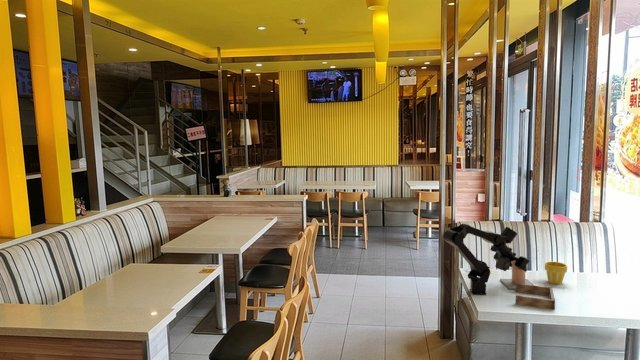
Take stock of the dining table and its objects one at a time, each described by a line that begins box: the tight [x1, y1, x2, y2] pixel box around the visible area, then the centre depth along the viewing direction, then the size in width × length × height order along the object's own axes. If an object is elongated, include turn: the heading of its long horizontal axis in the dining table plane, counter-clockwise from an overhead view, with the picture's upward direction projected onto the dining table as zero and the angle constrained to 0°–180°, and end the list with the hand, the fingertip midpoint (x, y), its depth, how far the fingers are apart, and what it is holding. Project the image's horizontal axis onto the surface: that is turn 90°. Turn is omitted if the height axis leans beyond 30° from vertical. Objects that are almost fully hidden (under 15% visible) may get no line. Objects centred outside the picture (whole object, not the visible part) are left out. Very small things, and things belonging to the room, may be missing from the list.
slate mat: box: [499, 278, 535, 291], centre depth 224 cm, size 14×14×1 cm
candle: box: [511, 261, 526, 285], centre depth 223 cm, size 6×6×12 cm
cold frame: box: [514, 283, 556, 310], centre depth 204 cm, size 16×19×4 cm
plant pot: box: [544, 261, 568, 285], centre depth 227 cm, size 10×10×10 cm
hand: (518, 268), depth 223 cm, fingers open, 9 cm apart
